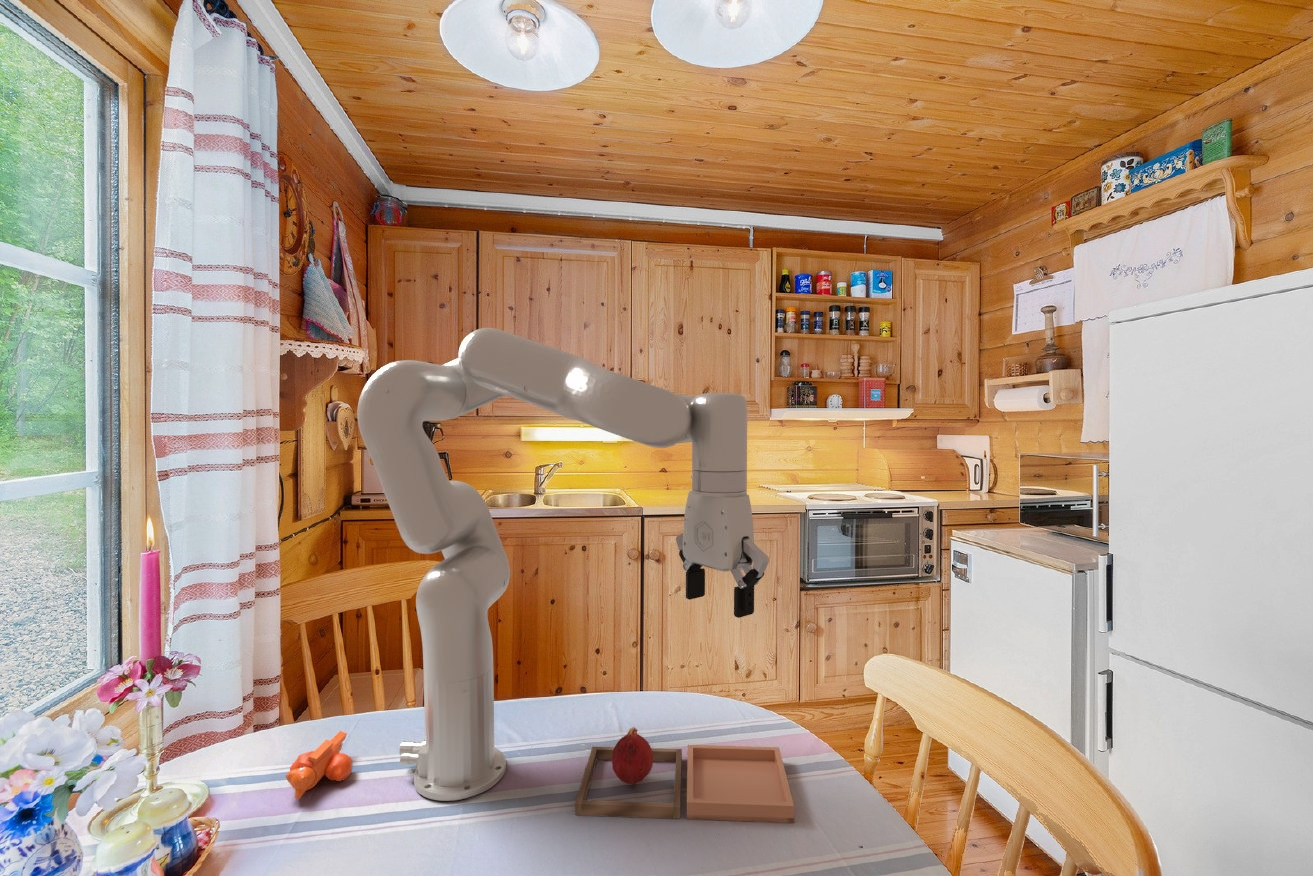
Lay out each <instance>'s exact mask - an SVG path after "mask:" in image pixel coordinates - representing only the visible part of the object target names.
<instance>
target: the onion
mask: <svg viewBox="0 0 1313 876" xmlns="http://www.w3.org/2000/svg"><path fill="white" fill-rule="evenodd" d="M613 747H614V749H613V753H612V760H611V764H612V765H611V766H612V770H613V772H614V774H615V775H616V777H617V778H618V779H619V781H621V782H623V784H627V785H629V786H635V785H637V784H639V783H640V782H642V781H643V780H644V779H646V777H648V775H649V774H650V772H651V771H652V768H653V765H654V764H653V763H654V761H653V754H652V750H651V748H652V747H651V744H650V742H649V741H647V739H646V738H645V737H643V735H641V734H638V729H637V728H636V727H631V728H629V730H628V731H627V734H625V735H623V736H622V737H621V738H620V739H618V740H617V742H616V744H615V745H614V746H613Z"/></svg>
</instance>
